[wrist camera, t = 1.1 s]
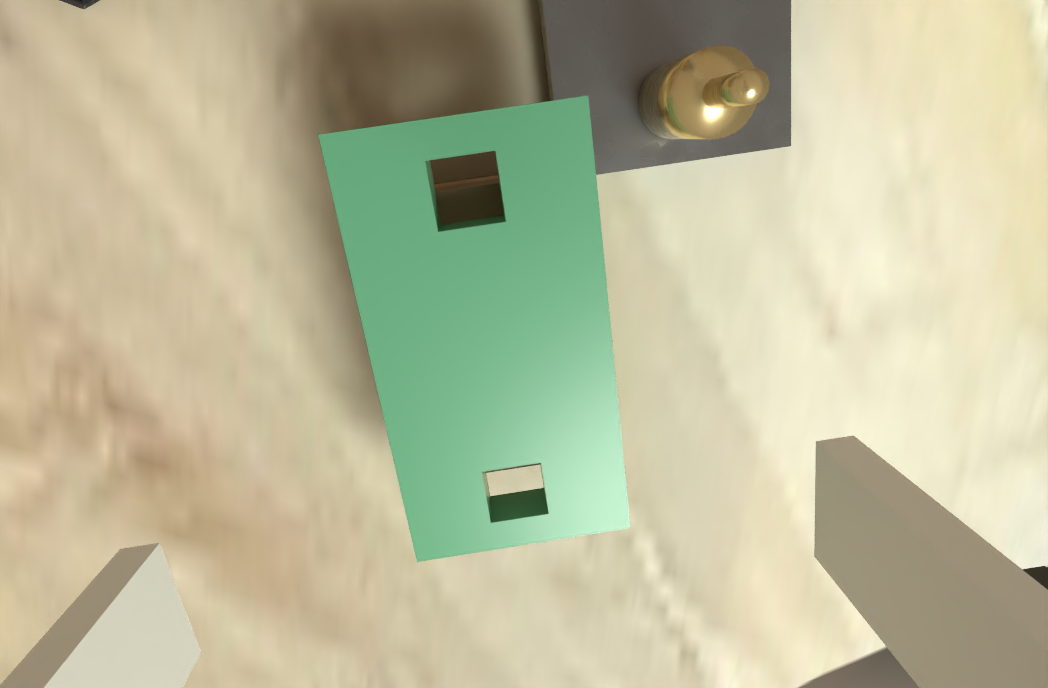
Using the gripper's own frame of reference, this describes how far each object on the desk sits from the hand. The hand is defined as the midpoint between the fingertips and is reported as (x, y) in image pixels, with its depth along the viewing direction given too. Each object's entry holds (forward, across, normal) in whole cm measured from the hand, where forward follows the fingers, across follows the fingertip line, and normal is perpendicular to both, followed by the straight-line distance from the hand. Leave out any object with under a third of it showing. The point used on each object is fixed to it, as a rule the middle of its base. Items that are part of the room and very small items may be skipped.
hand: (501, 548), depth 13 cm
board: (+13, 0, 0) cm, 13 cm away
